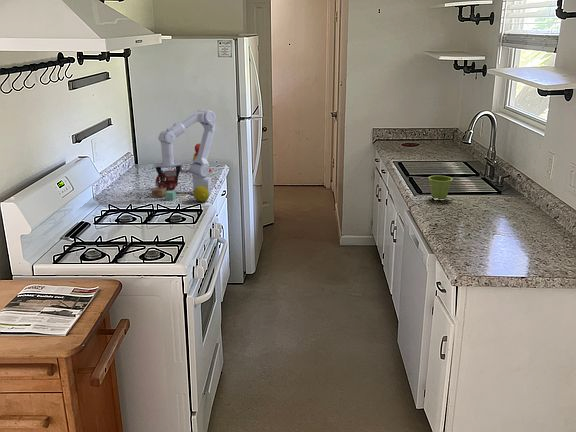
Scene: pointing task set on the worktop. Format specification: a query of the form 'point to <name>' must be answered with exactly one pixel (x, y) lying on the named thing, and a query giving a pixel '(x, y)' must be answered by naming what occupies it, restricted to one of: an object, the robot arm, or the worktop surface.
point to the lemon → (201, 193)
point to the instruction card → (182, 195)
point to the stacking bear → (197, 153)
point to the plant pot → (440, 186)
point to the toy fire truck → (167, 180)
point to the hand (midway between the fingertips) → (169, 181)
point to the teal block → (170, 195)
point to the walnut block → (158, 192)
